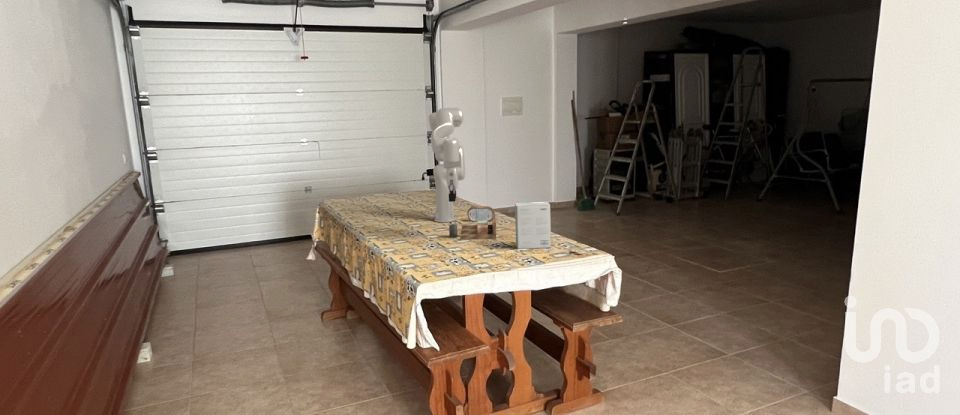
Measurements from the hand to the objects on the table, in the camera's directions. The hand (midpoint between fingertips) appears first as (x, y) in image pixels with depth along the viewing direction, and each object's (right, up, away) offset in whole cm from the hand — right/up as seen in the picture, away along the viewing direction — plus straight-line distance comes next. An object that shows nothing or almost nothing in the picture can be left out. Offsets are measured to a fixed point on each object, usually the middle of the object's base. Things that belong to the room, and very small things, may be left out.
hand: (452, 199), depth 287 cm
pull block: (+8, -18, +3) cm, 20 cm away
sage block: (+15, -16, +14) cm, 26 cm away
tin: (+14, -12, +38) cm, 42 cm away
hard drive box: (+38, -22, -18) cm, 47 cm away
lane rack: (+12, -17, +9) cm, 22 cm away
